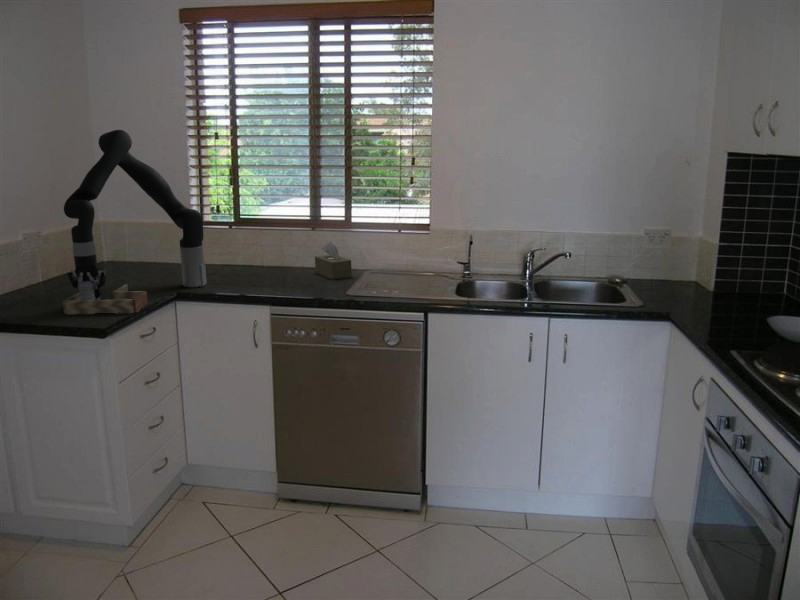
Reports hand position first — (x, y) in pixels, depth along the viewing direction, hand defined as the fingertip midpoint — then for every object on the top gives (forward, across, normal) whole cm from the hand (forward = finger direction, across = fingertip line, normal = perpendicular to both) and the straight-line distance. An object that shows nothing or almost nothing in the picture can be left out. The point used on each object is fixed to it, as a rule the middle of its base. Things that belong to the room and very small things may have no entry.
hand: (90, 297), depth 249 cm
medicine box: (+2, 0, 0) cm, 2 cm away
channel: (+4, -6, -6) cm, 9 cm away
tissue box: (+5, -88, -54) cm, 104 cm away
